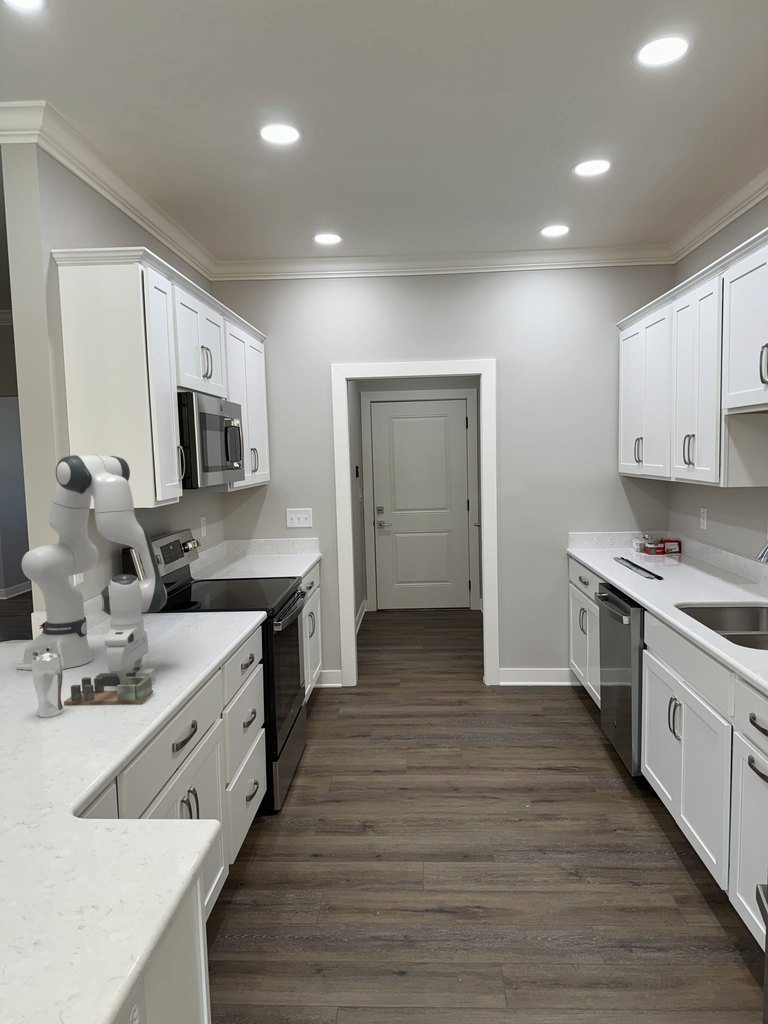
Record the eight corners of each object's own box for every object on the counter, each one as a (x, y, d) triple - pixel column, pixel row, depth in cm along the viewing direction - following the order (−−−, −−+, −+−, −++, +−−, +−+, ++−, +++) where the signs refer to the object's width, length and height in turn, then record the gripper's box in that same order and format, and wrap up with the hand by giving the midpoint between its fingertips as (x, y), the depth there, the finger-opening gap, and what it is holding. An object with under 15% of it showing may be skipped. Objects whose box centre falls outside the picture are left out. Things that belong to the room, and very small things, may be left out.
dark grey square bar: (95, 687, 196) (94, 673, 195) (101, 682, 200) (100, 669, 199) (150, 686, 195) (149, 673, 195) (155, 681, 199) (154, 668, 199)
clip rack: (64, 705, 182) (62, 687, 182) (78, 694, 190) (77, 677, 189) (141, 704, 181) (140, 686, 181) (153, 693, 189) (152, 676, 189)
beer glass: (45, 720, 172) (41, 662, 171) (30, 715, 176) (25, 658, 174) (71, 710, 178) (67, 654, 177) (55, 706, 182) (51, 651, 180)
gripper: (131, 622, 207) (134, 667, 208) (101, 641, 186) (104, 690, 187) (152, 622, 206) (154, 666, 208) (124, 641, 186) (127, 690, 187)
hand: (131, 678), depth 197 cm, fingers open, 8 cm apart
